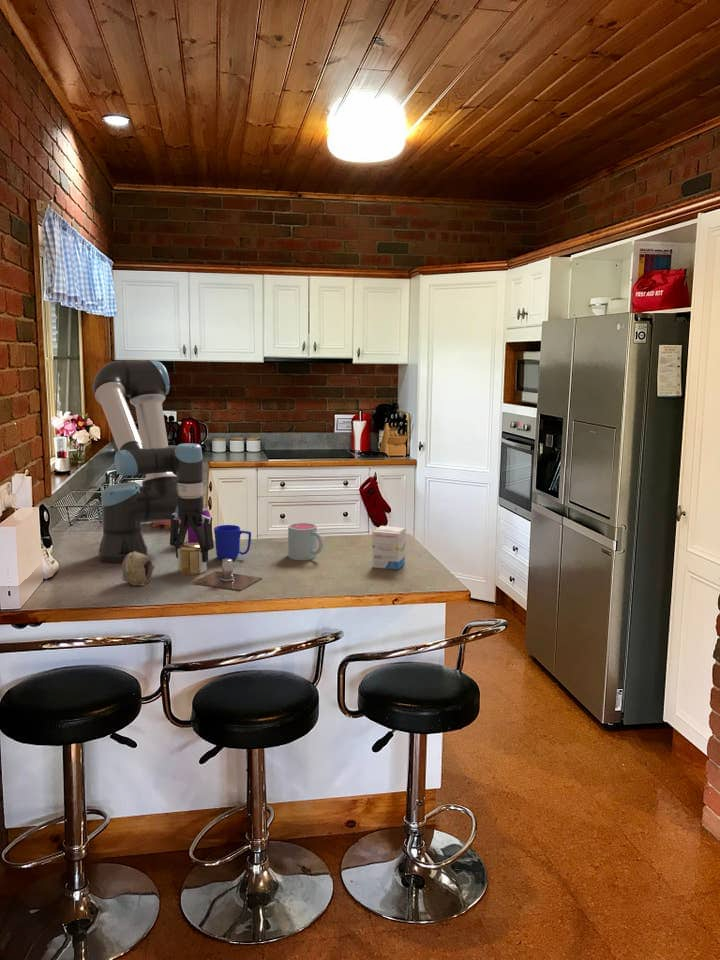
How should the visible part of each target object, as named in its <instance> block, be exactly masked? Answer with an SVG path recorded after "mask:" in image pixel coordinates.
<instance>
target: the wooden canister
mask: <svg viewBox="0 0 720 960" xmlns="http://www.w3.org/2000/svg"><path fill="white" fill-rule="evenodd" d="M179 550H180V570H179V571H181V572H180V573H181V574H182V573H184V574H183V575H188V574H189V575H190V574H192V575H199V552H200V551H201V549H200V546H199V543H190V542H185V543H183V544H182V545H180V549H179Z"/></svg>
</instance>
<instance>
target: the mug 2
mask: <svg viewBox="0 0 720 960" xmlns="http://www.w3.org/2000/svg"><path fill="white" fill-rule="evenodd" d="M287 527H288V529H287V534H288V535H287V536H288V537H287V539H288V541H287V544H288V547H287V553H288V554H287V557H288V558H289V559H291V560H294V561H295V560H296V561H310V560H313V559H315V558H317V557H318V556H317V555H319V554H320V553H321V552H322V551H323V547H324V541H323V538H322V537H321V535H320V534H319V533H318V529H317V527H318V526H317V525H316V523H315V524H314V523H310V522H297V523H291V524H289V525H288V526H287ZM318 542H319V545H318V544H317V543H318ZM317 546H318V548H317Z"/></svg>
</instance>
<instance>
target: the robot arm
mask: <svg viewBox="0 0 720 960" xmlns="http://www.w3.org/2000/svg"><path fill="white" fill-rule="evenodd" d="M169 377H170V376H169V373H168V371H167V368H166V367H165V365H164V364H163V363H162V362H160V361H158V360H149V359H146V360H114V361H110V362H107V363H105V364H104V365H103V366H102V367H101V368H100V369H99V370H98V371H97V373H96V374H95V376H94V379H93V382H92V391H93V395H94V398H95V399H94V400H95V401H96V402H97V403H98V404H99V405H100V406H101V408H102V410H103V413H104V416H105V419H106V420H107V421H106V422H107V423H108V427H109V429H110V432H111V435H112V439H113V440H114V442H115V445H116V449H117V451H116V452H115V454H114V459H113V461H114V466H115V468H114V469H115V471H116V473H117V475H119V476H130V477H131V476H139V475H145V477H144V478H143V480H142V482H141V485H142V486H140V484H139V483H138V482H133V481H132V482H130V481H129V482H120V483H117V484H116V483H115V484H113V485H110V486H107V487H105V488H104V489H103V490H102V492H101V503H100V506H101V515H102V516H101V518H102V538H101V541H100V544H99V545H100V546H99V548H98V554H97V555H98V560H99V561H101V562H104V563H114V564H115V563H117V564H118V563H121V564H122V563H123V560H124V558H125V557H126V556H127V555H128V554H129V553H133V552H134V551H135V552H138V553H141V554H144V555H146V556H147V557H148V552H149V551H148V546H147V545H146V542H145V539H144V535H143V534H142V523H151V522H152V521H160V520H171V529H169V531H170V533H169V534H170V535H169V546H171V547H174V548H175V557H176V559H177V565H178V567H177V569H178V571H180V550H179V549H180V545H182V544H185V543H184V542H185V539H186V536H187V534H188V527H189V526H190V527H192V528H193V530H194V531H195V534H196V537H197V540H198V543H199V546H200V549H201V551H200V552H199V573H200V574H203V573H206V572H207V562H209V551H211V550H213V549H214V548H215V544H214V543H215V542H214V537H213V536H214V535H213V527H212V523H213V516H210V517H207V516H204V514H203V507H204V496H203V495H204V483H203V482H204V481H203V478H204V477H203V476H204V475H203V450H202V446H201V445H200V444H199V443H189V442H188V443H179V444H178V445H169V440H168V435H167V429H166V422H165V416H164V410H163V403H164V402H165V401H166V396H167V395H169V391H170V387H171V386H170V378H169ZM126 397H128V399H129V403H130V404H131V405H133V406H134V407H135V412H136V420H137V424H138V427H137V426H136V425H137V424H136V423H135V420H134V418H133V415H132V413H131V410H130V407H129V405H128V402H127V400H126ZM175 472H176V474H175ZM179 518H180V520H181V523H180V526H179ZM202 520H203V523H204V525H202V522H201V521H202ZM197 526H198V527H197ZM203 527H204V532H203V529H202V528H203ZM199 573H198V574H199Z"/></svg>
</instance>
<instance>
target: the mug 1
mask: <svg viewBox="0 0 720 960" xmlns="http://www.w3.org/2000/svg"><path fill="white" fill-rule="evenodd" d="M213 532H214V543H215V544H214V545H215V553H216V557H217V558H218V559H219V560H221V559H222V560H223V559H232V560H235V559H236V558H238V556H239V555H246V554H248V552H249V551H250V548H251V543H252V542H251V541H252V532H251V531H248V530H241V527H240V526H238V525H234V524H222V525H217V526H215V527H214V528H213ZM241 534H247V535H248V536H247V538H248V539H247V547H246V550H245V551H241V550H240V549H241V547H240V546H241ZM222 560H221V561H222Z"/></svg>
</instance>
